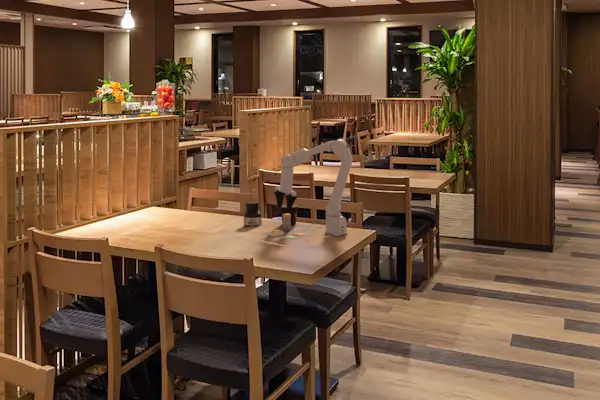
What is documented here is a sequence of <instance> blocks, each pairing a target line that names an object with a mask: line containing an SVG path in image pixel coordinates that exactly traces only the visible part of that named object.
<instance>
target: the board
mask: <svg viewBox="0 0 600 400" xmlns="http://www.w3.org/2000/svg"><path fill="white" fill-rule="evenodd" d="M278 230H279V233H273V232H272V231H271V230H270V231H267V232H262V233H261V235H263V236H268V237H273V238H277V239H283V240H286V241H292V240H297V239H300V238H304V237H309V236H314V234H313V233H308V232H304V231H299V230H294V229H291V231H288V232H285V231H283V228H280V229H278Z"/></svg>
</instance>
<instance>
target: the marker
mask: <svg viewBox="0 0 600 400" xmlns="http://www.w3.org/2000/svg"><path fill="white" fill-rule="evenodd" d="M290 218H291V214H288V213H286V214H283V223H282V229H283V231H285V232H288V231H291V230H292V229H291V227H292V226H291V221H290Z"/></svg>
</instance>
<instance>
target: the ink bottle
mask: <svg viewBox="0 0 600 400" xmlns="http://www.w3.org/2000/svg"><path fill="white" fill-rule="evenodd" d="M262 225H263V224H262V212H261V211H260V201H257V200H256V201H255V200H250V201H246V202H245V211H244V212H243V226H244V227H245V228H251V227H259V226H262Z"/></svg>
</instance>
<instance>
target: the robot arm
mask: <svg viewBox="0 0 600 400" xmlns="http://www.w3.org/2000/svg"><path fill="white" fill-rule="evenodd" d="M323 152H328V153H331V152H333V154H335V156H337V157H338V158H339V160H340V162H341V163H340V167H339V169H338V173H337V177H336V178H335V179H336V180H335V182H334V183H335V184H334V186H333V190H332V194H331V197H330V198H329V202H328V203H327V204H325V233H326V234H328V236H333V237H339V236H343V235H347V234H348V233H349V232H348V231H347V230H348V229H347V226H348V225H347V223H348V222H347V218H346V217H345V216H343V215H342V213H341V209H342V206H343V205H342V200H343V194H344V191H345V189H346V185H347V181H348V177H349V174H350V172H351V168H352V164H353V162H354V161H353V155H352V153H351V149H350V144H348V142H347V141H346V140H345V139H342V138H339V139H337V140H331V141H330V140H329V141H326V142H325V143H324V142H323V143H322V144H319V145H317V146H314V147H312V148H310V149H307V148H305V147H304V148H302V147H300V148H299V149H298V150H296V151H294V152H292V151H291V152H289V154H285V155H283V156H282V158H281V159H280V164H281V172H280V174H281V175H280V184H279V186H275V189H274V190H275V191H273V194H274V196H275V199H276V204H277V208H280V207H282V205H284V199H285V200H286V205H287V210H291V209H292V206H293V205H294V203H295V201H296V200H297V198H298V196H297V194H298V193H297V191H296V190H293V184H294V183H293V181H294V169H295V168H294V166H295V165H299V164H301V163H304V162H306V161H309V160H310V158H311V156H314V155H315V156H316V155H318V154H320V153H323Z"/></svg>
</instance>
